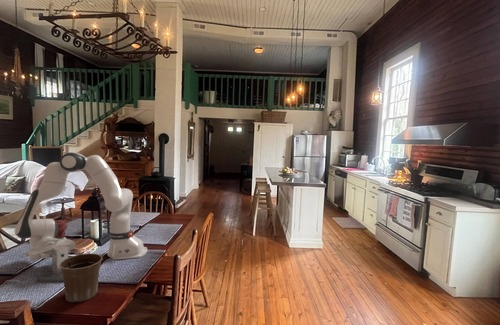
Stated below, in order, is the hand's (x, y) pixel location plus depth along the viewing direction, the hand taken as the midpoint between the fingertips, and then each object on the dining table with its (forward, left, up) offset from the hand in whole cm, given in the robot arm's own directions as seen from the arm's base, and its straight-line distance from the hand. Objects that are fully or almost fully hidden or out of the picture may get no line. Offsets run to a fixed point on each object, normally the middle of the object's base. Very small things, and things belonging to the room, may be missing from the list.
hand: (58, 253), depth 141 cm
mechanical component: (+29, -50, -11) cm, 59 cm away
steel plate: (-1, +1, -11) cm, 11 cm away
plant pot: (-21, +20, -11) cm, 31 cm away
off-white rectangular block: (-1, +1, -8) cm, 8 cm away
